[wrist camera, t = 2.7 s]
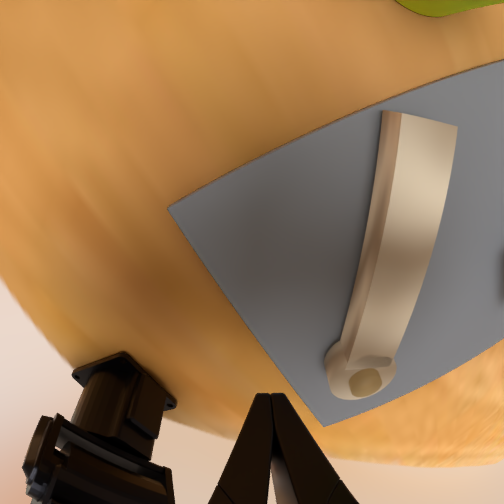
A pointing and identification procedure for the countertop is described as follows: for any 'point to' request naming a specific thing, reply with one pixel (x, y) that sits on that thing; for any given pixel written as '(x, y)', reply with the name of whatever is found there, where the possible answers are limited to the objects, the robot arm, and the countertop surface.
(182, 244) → the countertop surface
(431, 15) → the soap dispenser
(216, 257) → the board
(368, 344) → the link
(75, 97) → the countertop surface
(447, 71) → the countertop surface
